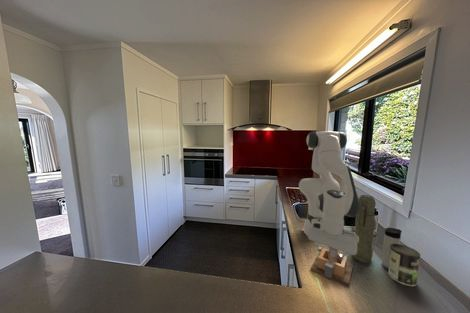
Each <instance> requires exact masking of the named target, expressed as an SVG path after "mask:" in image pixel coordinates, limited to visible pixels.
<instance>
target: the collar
mask: <svg viewBox="0 0 470 313" xmlns="http://www.w3.org/2000/svg"><path fill="white" fill-rule="evenodd" d="M319 253H320V255H319V257H318V268H321V269H323V270H325V274H324V275H325V276H327V277H329V278H328V279H330V278H332V276H333V274H335V275H338V276H340V277H342V278H343V277H344V273H345V269H346V266H347V263H348V262H347V261H348V256H347V255H346V256H345V257H344V260H340V254H342V255H343V253H339V252H338V259H337V263H336V262H333V261H331V260H328V255H329V248H328V249H327V248H325V247H323V248H322V249H321V252H319ZM325 276H324V277H325ZM327 277H326V278H327Z"/></svg>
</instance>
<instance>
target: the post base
mask: <svg viewBox="0 0 470 313" xmlns="http://www.w3.org/2000/svg"><path fill="white" fill-rule="evenodd" d="M328 250H329V255H328V260H331V261H333V262H336V263H337V259H338V253H339V250H338V249H335V248H332V247H329V246H328ZM320 253H321V252H318V254H317V256H316V258H315V259H314V261H313V263H312V265H311V267H310V271H311V272H313V273H316V274H318V275H321V276H323V277H325V278H328V279H329V280H332V281H334V282H336V283H339V284H341V285H344V286H346V287H349V286H350V282H351V279H352V278H351V277H352V274H353V269H354V268H353V267H354V265H353V264H351V263H349V262H347V266H346V269H345V273H344V277H343V278H342V277H340V276H338V275H335V274H333V276H332V278H329V277H327V276H325V275H324V274H325V270H323V269H321V268H318V257H319V255H320Z"/></svg>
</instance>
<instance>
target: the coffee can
mask: <svg viewBox="0 0 470 313" xmlns="http://www.w3.org/2000/svg"><path fill="white" fill-rule="evenodd" d="M420 258H421V253H420V252H419V251H417V250H416V249H414V248H413V247H409V246H406V245H404V244H403V245H402V244H401V243H400V244H391V245H390V258H389V269H387V270H388V271H387V275H388V276H389V277H390V278H391V279H392V280H393V281H395V282H397V283H399V284H400V285H404V286H406V287H416V286H418V274H419V265H420Z"/></svg>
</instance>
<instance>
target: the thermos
mask: <svg viewBox="0 0 470 313" xmlns="http://www.w3.org/2000/svg"><path fill="white" fill-rule="evenodd" d="M358 198H359V201H360V204H361V212H360V213H359V214H358V215H357V216H355V217H354V218H355V219H354V220H355V222H354V226H355V232H354V233H355V234H357V235H358V236H359V243H357V254H355V255H352V258H353V259H354V260H356V261H358V262H360V263H363V264H371V263H372V259H373V255H374V254H373V253H374V252H373V250H374V249H373V238H374V231H375V229H376V217H375V212H376V206H377V205H376V199H375V197H374V196H371V195H368V194H361V195H360V196H359V197H358ZM357 235H356V236H357Z"/></svg>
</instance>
